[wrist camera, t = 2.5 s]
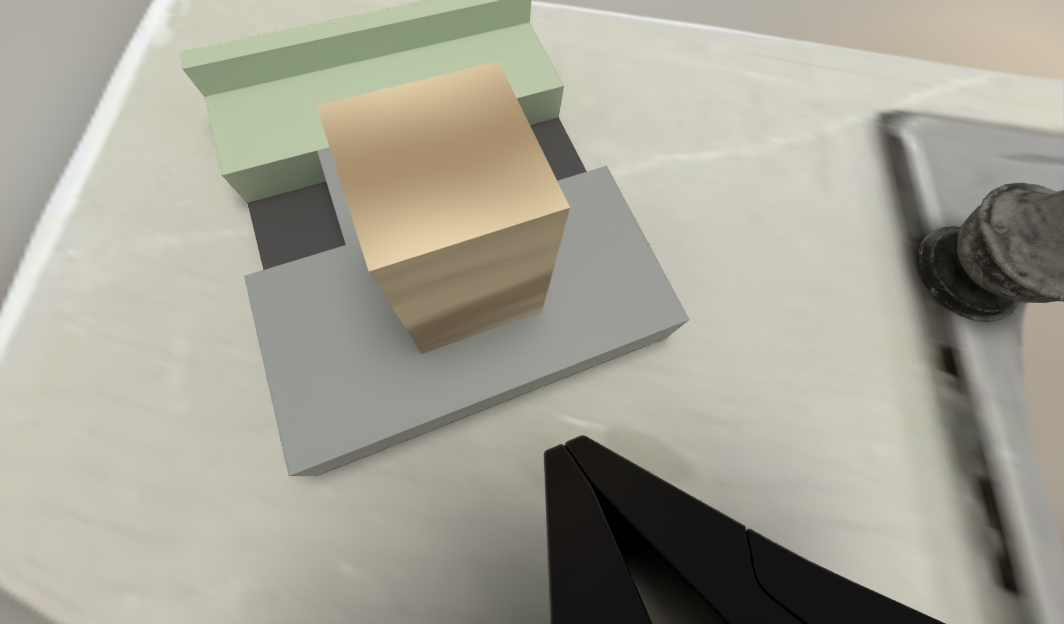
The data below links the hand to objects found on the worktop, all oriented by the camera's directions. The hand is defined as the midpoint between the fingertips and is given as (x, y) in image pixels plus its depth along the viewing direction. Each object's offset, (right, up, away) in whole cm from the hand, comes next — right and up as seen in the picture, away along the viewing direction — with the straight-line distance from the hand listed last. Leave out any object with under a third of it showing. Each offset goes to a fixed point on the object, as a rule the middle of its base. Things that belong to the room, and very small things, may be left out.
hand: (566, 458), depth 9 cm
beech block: (-3, +4, +10) cm, 11 cm away
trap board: (-5, +7, +13) cm, 16 cm away
